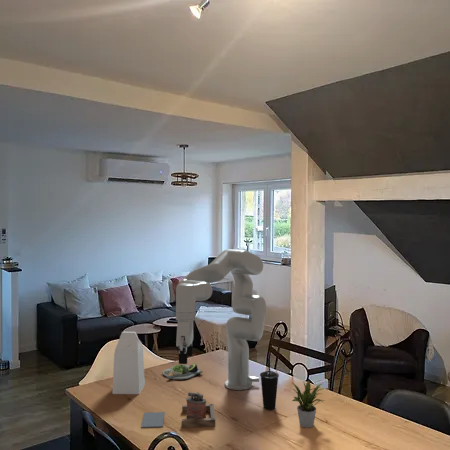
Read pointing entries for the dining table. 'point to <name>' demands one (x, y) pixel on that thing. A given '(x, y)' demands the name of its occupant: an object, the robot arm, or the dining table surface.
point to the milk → (128, 365)
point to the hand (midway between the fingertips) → (185, 359)
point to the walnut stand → (200, 421)
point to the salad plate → (182, 372)
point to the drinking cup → (269, 388)
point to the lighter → (196, 406)
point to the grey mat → (153, 420)
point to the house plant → (307, 405)
